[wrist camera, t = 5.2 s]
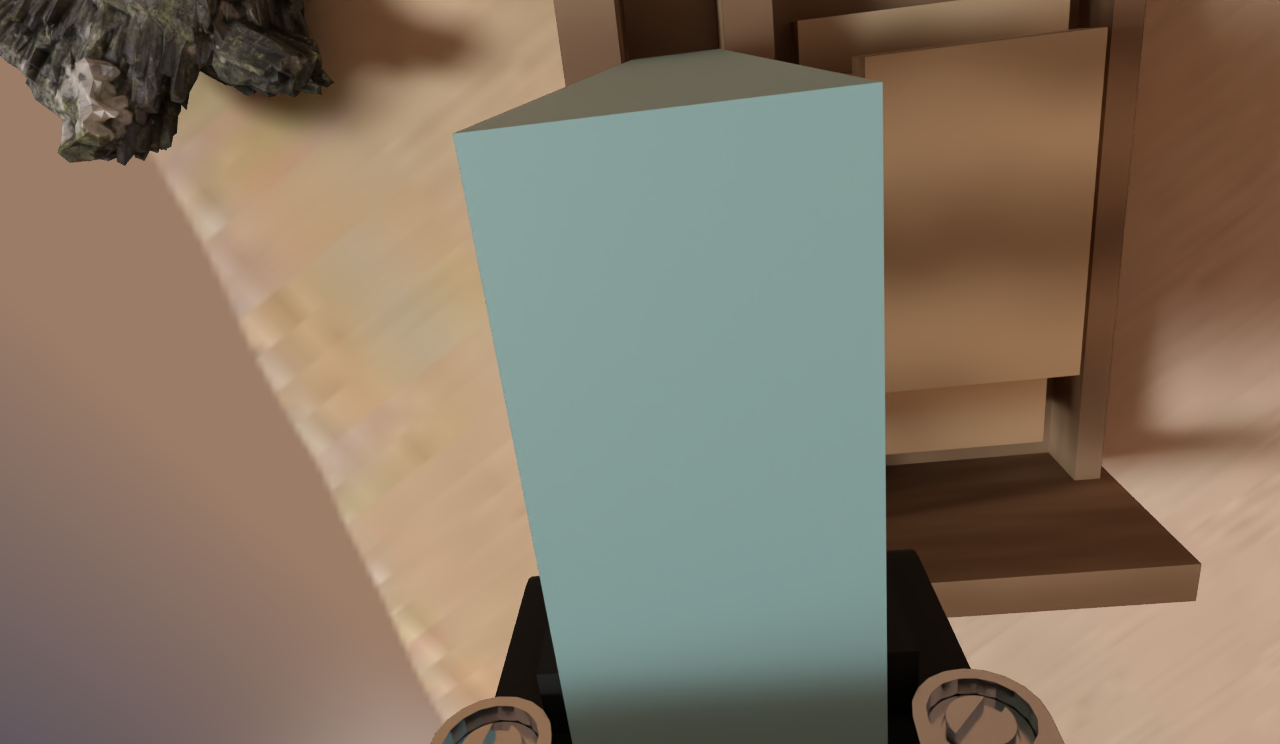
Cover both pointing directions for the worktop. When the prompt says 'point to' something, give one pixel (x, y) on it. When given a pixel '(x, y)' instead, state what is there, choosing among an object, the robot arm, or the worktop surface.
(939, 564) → the walnut rack
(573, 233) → the teal sheet
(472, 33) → the worktop surface
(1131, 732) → the worktop surface
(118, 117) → the mineral specimen
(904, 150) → the offcut stack
